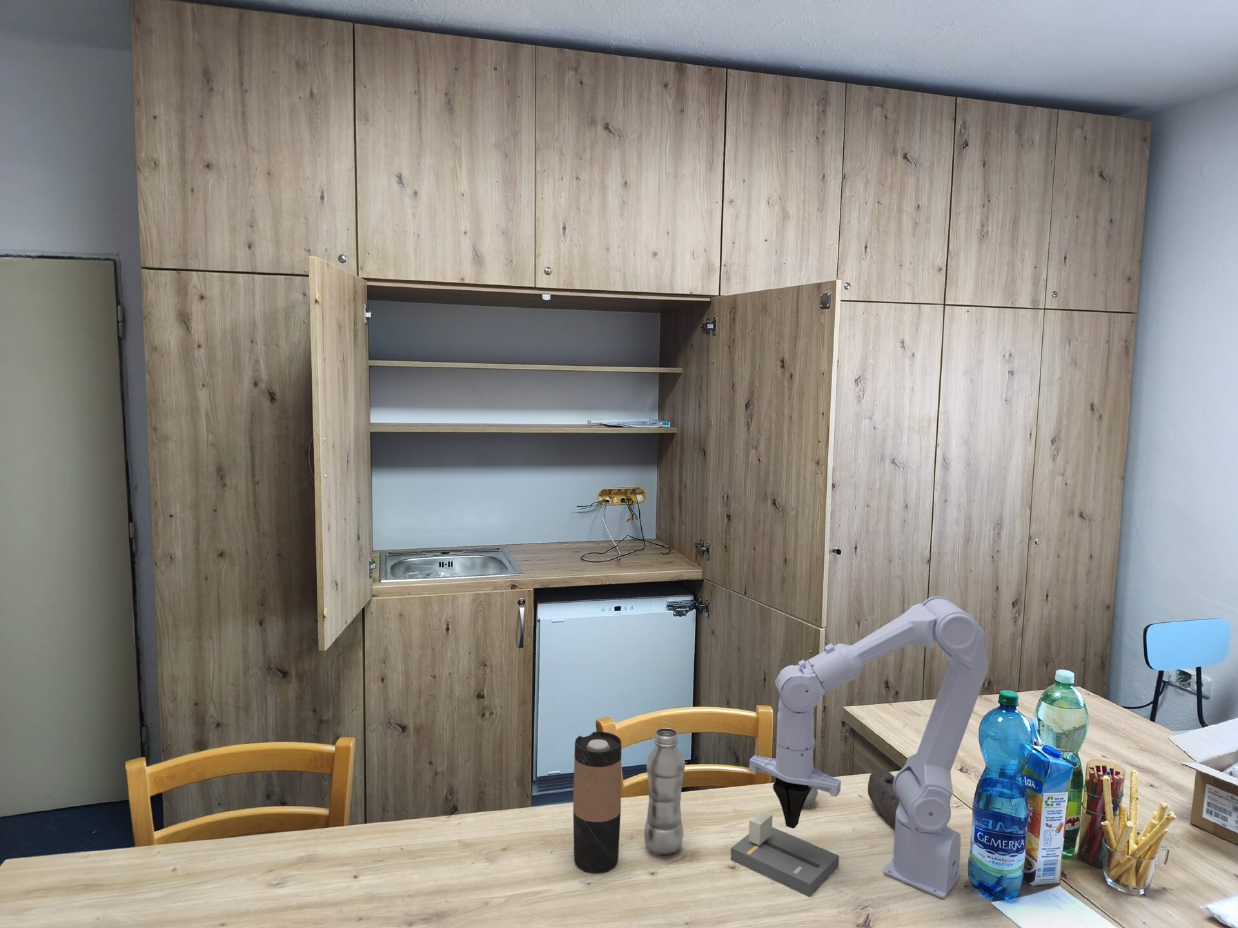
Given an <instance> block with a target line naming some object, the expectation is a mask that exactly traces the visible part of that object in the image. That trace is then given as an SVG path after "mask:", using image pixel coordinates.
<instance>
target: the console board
mask: <svg viewBox="0 0 1238 928" xmlns="http://www.w3.org/2000/svg"><path fill="white" fill-rule="evenodd" d="M730 860H731V861H733V862H735V863H738V864H739V865H741V866H744V867H745V868H748V869H750V870H752V871H754V872H756V873H759V874H760V875H763V876H765V877H767V878H768V879H769V878H770V880H773V881H775V882H777V883H779V884H782V885H783V886H786V887H788V888H789V889H792V890H794V891H796V892H799V893H801V894H802V895H805V896H806V897H809V898H810V897H811V896H812V895H813V894H814V893H815V892H816V891H817V890H818V889H819V888H820V887H821V886H822V885H823V884H824V883H825V882H826V881H827V880H828V879H829V878H830V876H832V874H834V872H835V871H837V870H838V869H839V867H840V865H839V863H840V855H839V854H838V853H834V852H832V851H830V850H827V849H825V848H823V847H821V846H818V845H815V844H813V843H810V842H808V841H806V840H803V839H801V838H799V837H796V836H795V835H792V834H789V833H787V832H785V831H782V830H780V829H778V828H775V827H773V826H772V835H771V836H770V837H769V838H768V839H766V840H765V841H764V842H763V843H762V844H760V845H758V844H755V843H753V842H751V841H749V833H748V834H746V835H745V836H744V837H743V838H742V839H740V840H739V841H737V843H735V844H734V845H733V846H731V848H730Z"/></svg>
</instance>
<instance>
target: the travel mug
mask: <svg viewBox="0 0 1238 928" xmlns="http://www.w3.org/2000/svg"><path fill="white" fill-rule="evenodd" d="M573 757H574V763H573V764H574V765H573V767H574V768H573V798H572V799H573V801H572V802H573V803H572V805H573V806H572V810H573V813H572V815H573V819H572V820H573V860H574V864H575V866H576V867H577V868H578V869H579V870H580V871H583V872H585V873H589V874H603V873H607V872H610V871H612V870H613V869H614V868H615V867H616V866H617V865H618V861H619V853H620V851H619V850H620V849H619V848H620V832H621V831H620V830H621V817H622V816H621V815H622V814H621V813H622V811H621V810H622V740H621V738H620V737H619V736H618V735H616V734H614V733H611V732H605V731H592V733H590V734H589V735H585V736H582V735H579V736H577V737H576V738H575V741H574V756H573Z"/></svg>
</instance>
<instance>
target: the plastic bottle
mask: <svg viewBox="0 0 1238 928" xmlns="http://www.w3.org/2000/svg"><path fill="white" fill-rule="evenodd" d="M678 743H679V742H678V732H677V730H675V729H674V728H671V727H661V728H658V729H656V730H655V737H654V744H655V746H654V748H653V749H652V750H651V751H650V753H649V754H648V757H647V760H646V762H645V763H646V773H647V774H646V775H647V782H648V783H647V784H648V806H647V807H648V808H647V815H646V820H645V824H644V831H643V836H644V842H645V845H646V846H647V848H648V849H649V850H650V851H651V852H652V853H654V854H656V855H657V854H658V855H661V856H662V855H664V856H665V855H666V856H667V855H671V854H674V853H676V852H677V851H678V850H679V849H680V847H681V845H682V844H683V843H682V842H683V838H684V828H683V823H682V813H681V812H682V811H681V799H682V798H681V797H682V786H683V780H684V773H685V770H686V768H685V767H686V763H685V758H684V756H683V754H682V753H681V751H680V749H679V748H678V747H677V746H678Z"/></svg>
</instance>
